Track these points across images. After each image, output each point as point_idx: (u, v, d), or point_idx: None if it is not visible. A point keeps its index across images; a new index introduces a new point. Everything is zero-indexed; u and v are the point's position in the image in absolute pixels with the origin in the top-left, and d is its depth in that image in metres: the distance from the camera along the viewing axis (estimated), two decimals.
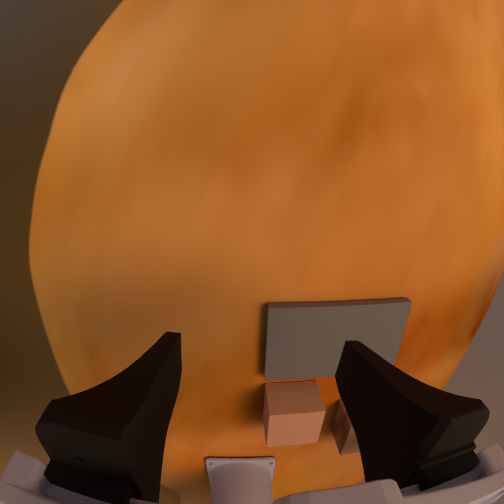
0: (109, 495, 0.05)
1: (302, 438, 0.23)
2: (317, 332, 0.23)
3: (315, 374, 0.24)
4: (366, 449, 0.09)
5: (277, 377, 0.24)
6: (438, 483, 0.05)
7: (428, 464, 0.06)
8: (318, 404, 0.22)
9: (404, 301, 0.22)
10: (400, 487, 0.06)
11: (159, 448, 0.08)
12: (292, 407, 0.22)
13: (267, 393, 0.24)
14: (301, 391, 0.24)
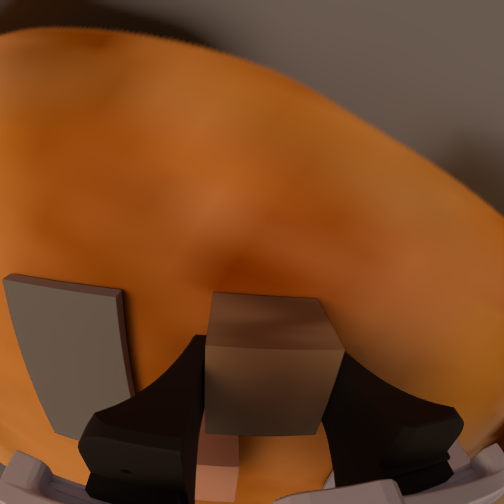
0: None
1: (218, 479, 0.12)
2: (65, 404, 0.14)
3: None
4: (336, 453, 0.09)
5: None
6: (405, 495, 0.05)
7: (393, 474, 0.06)
8: None
9: (6, 290, 0.12)
10: None
11: (195, 453, 0.08)
12: None
13: None
14: None
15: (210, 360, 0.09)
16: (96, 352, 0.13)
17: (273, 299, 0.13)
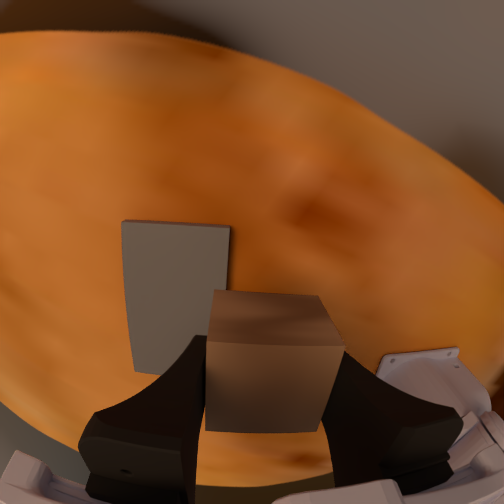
0: None
1: None
2: (157, 334, 0.21)
3: None
4: (336, 453, 0.09)
5: None
6: (405, 495, 0.05)
7: (393, 474, 0.06)
8: None
9: (122, 231, 0.18)
10: None
11: (195, 453, 0.08)
12: None
13: None
14: None
15: (211, 356, 0.09)
16: (203, 275, 0.19)
17: (274, 296, 0.13)
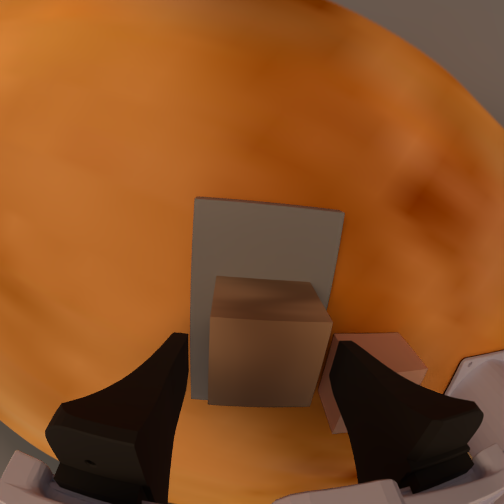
0: (121, 498, 0.05)
1: None
2: None
3: None
4: (359, 450, 0.09)
5: None
6: (430, 486, 0.05)
7: (420, 466, 0.06)
8: None
9: (194, 212, 0.14)
10: None
11: (168, 449, 0.08)
12: None
13: (323, 402, 0.17)
14: None
15: (213, 330, 0.11)
16: (305, 274, 0.15)
17: (270, 281, 0.14)
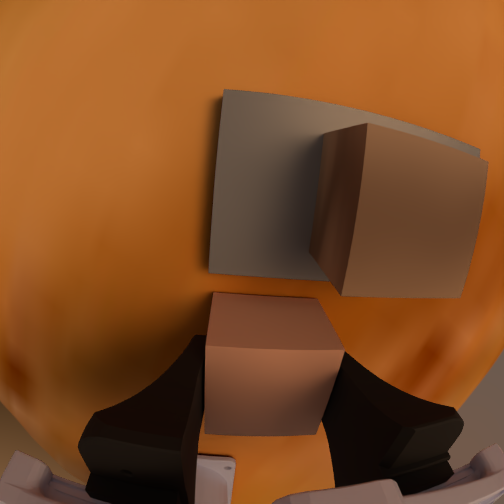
0: None
1: (285, 422, 0.10)
2: None
3: (318, 271, 0.12)
4: (336, 453, 0.09)
5: (235, 269, 0.12)
6: (405, 495, 0.05)
7: (393, 474, 0.06)
8: (326, 336, 0.10)
9: (469, 145, 0.11)
10: None
11: (195, 453, 0.08)
12: (265, 336, 0.10)
13: (213, 307, 0.12)
14: (287, 311, 0.12)
15: (476, 162, 0.07)
16: None
17: None
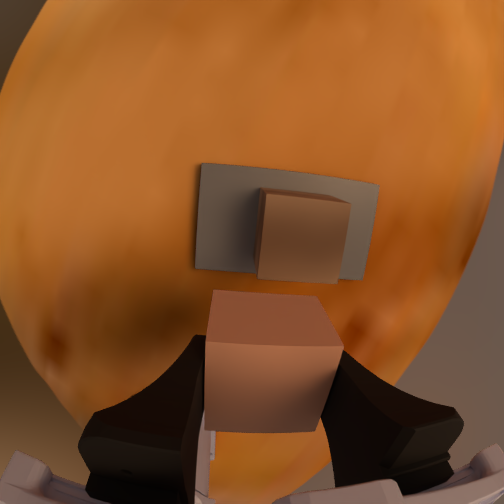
0: None
1: (284, 418, 0.11)
2: None
3: None
4: (336, 453, 0.09)
5: (210, 266, 0.20)
6: (405, 495, 0.05)
7: (393, 474, 0.06)
8: (325, 333, 0.10)
9: (370, 183, 0.19)
10: None
11: (195, 453, 0.08)
12: (264, 332, 0.10)
13: (213, 304, 0.12)
14: (287, 308, 0.12)
15: (340, 205, 0.16)
16: None
17: None
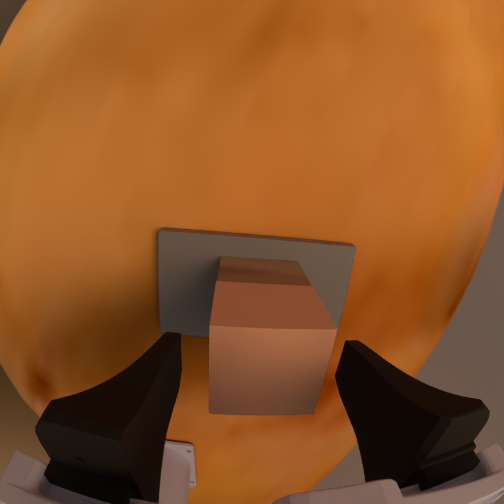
0: (109, 495, 0.05)
1: (284, 400, 0.12)
2: None
3: None
4: (366, 449, 0.09)
5: (175, 331, 0.19)
6: (438, 483, 0.05)
7: (428, 464, 0.06)
8: (320, 318, 0.11)
9: (345, 245, 0.18)
10: (400, 487, 0.06)
11: (159, 448, 0.08)
12: (263, 317, 0.11)
13: (216, 293, 0.13)
14: (284, 297, 0.13)
15: None
16: None
17: None
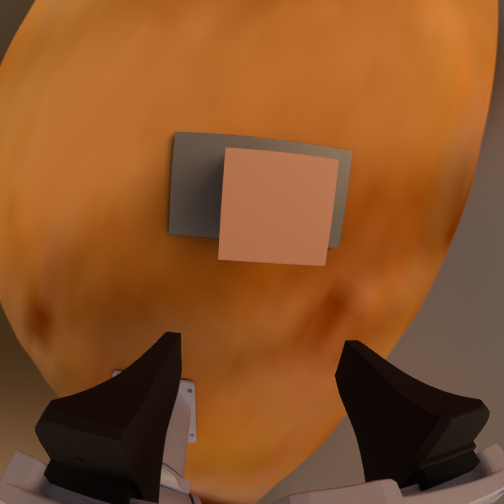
0: (109, 495, 0.05)
1: (294, 242, 0.13)
2: None
3: None
4: (366, 449, 0.09)
5: (183, 232, 0.20)
6: (438, 483, 0.05)
7: (428, 463, 0.06)
8: None
9: (342, 149, 0.19)
10: (400, 487, 0.06)
11: (159, 448, 0.08)
12: None
13: None
14: None
15: None
16: None
17: None
